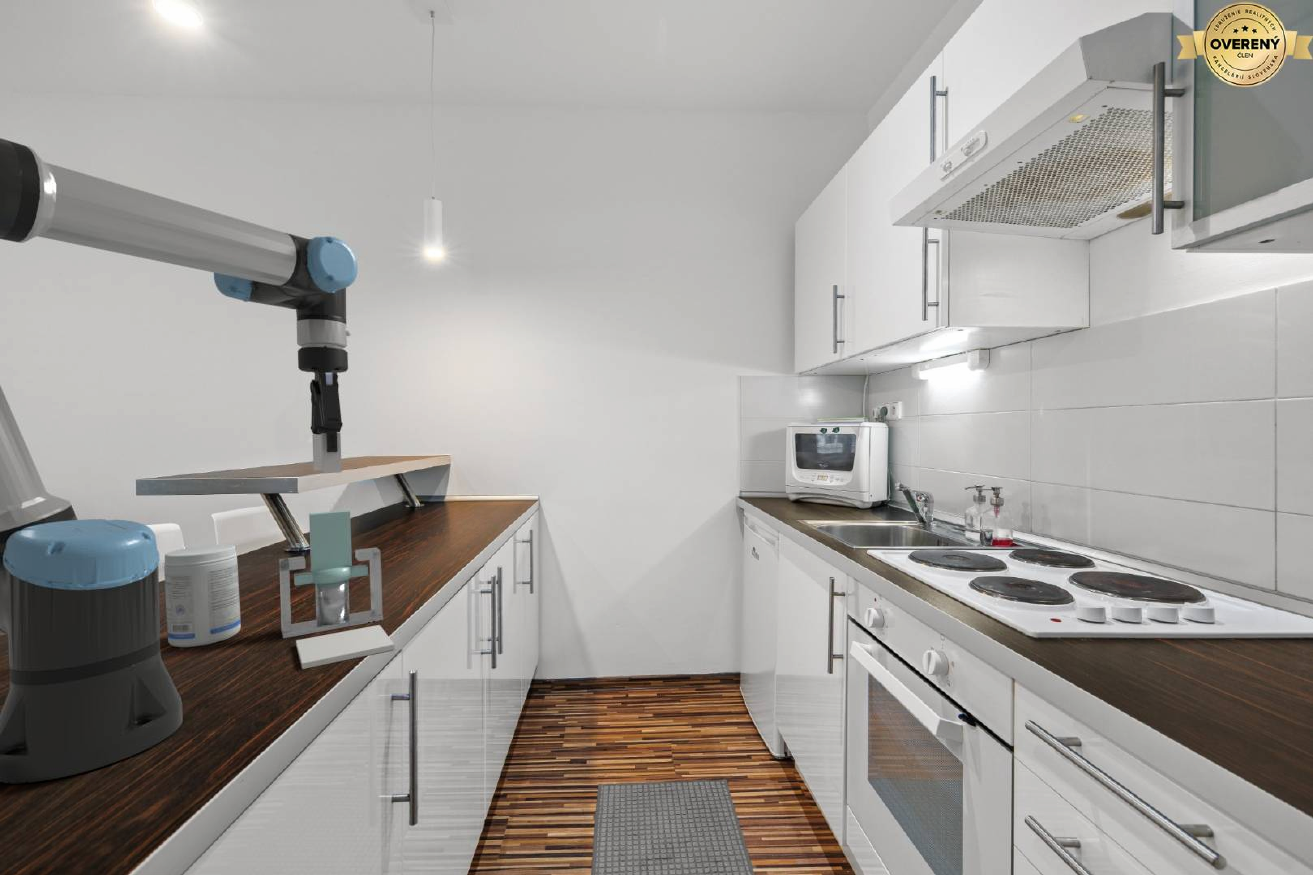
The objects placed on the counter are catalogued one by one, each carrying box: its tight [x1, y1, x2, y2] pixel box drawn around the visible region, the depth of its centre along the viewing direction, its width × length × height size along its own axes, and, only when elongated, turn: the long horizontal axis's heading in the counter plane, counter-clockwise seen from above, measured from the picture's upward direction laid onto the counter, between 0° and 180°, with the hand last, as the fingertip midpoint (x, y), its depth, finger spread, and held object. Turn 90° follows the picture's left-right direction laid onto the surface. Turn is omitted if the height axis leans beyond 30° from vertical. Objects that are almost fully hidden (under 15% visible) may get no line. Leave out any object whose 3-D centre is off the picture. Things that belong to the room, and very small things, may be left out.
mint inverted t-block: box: [293, 509, 369, 586], centre depth 103 cm, size 11×6×12 cm, turn 125°
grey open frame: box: [278, 546, 384, 639], centre depth 103 cm, size 15×5×12 cm, turn 125°
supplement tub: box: [163, 544, 242, 648], centre depth 98 cm, size 10×10×15 cm
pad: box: [295, 624, 395, 670], centre depth 92 cm, size 12×12×1 cm
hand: (326, 471), depth 103 cm, fingers open, 13 cm apart
